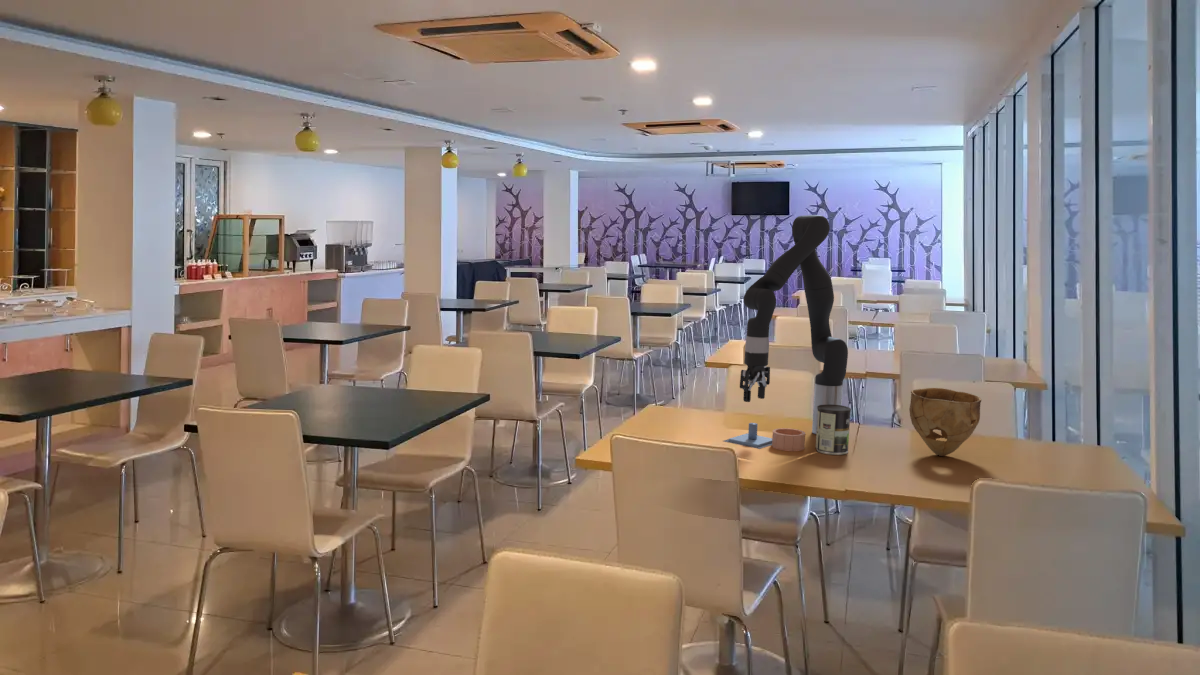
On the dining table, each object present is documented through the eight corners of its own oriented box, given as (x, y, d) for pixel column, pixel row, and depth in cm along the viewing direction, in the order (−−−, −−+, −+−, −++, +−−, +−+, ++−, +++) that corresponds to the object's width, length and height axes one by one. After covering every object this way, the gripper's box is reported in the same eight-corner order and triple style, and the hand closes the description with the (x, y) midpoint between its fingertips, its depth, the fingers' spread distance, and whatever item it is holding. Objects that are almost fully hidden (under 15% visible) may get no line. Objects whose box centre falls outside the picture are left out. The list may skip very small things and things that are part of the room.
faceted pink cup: (782, 443, 304) (783, 426, 303) (810, 449, 297) (811, 432, 296) (765, 448, 296) (766, 431, 295) (794, 454, 290) (795, 437, 289)
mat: (745, 435, 313) (745, 434, 313) (782, 443, 304) (782, 441, 304) (722, 442, 302) (722, 441, 302) (759, 450, 293) (759, 448, 293)
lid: (747, 435, 311) (747, 418, 310) (775, 441, 303) (776, 424, 303) (728, 441, 302) (729, 423, 302) (757, 447, 295) (758, 429, 294)
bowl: (975, 452, 299) (980, 390, 296) (978, 467, 280) (983, 402, 277) (906, 445, 306) (911, 385, 303) (905, 459, 287) (910, 396, 284)
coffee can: (847, 448, 299) (849, 405, 298) (849, 456, 289) (852, 411, 288) (814, 446, 301) (816, 403, 300) (815, 453, 291) (817, 409, 290)
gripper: (758, 347, 307) (755, 395, 309) (734, 350, 296) (731, 400, 298) (778, 350, 302) (775, 399, 304) (755, 353, 291) (752, 404, 293)
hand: (753, 400), depth 301 cm, fingers open, 8 cm apart
